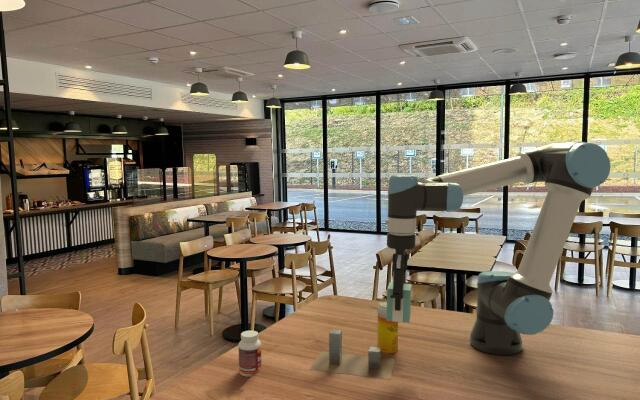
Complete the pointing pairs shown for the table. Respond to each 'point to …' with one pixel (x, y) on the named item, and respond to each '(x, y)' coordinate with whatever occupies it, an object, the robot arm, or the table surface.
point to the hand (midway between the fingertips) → (398, 316)
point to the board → (353, 366)
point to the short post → (374, 358)
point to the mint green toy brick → (405, 302)
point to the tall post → (335, 347)
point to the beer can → (386, 331)
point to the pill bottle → (249, 353)
